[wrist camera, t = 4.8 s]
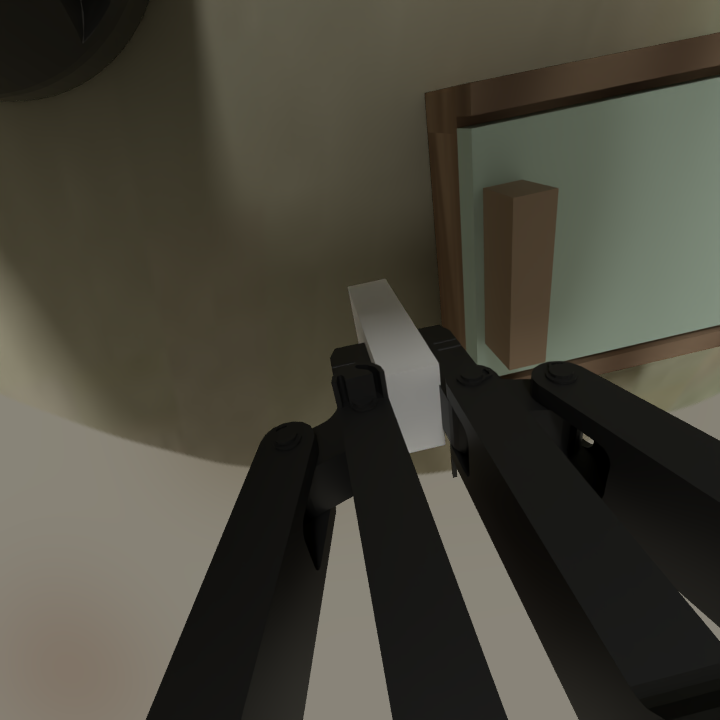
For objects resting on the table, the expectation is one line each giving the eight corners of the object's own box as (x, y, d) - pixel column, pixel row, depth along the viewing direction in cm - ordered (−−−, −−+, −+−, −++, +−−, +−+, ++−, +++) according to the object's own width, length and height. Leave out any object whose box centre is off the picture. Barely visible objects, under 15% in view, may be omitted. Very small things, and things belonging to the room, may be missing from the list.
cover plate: (466, 365, 22) (500, 410, 18) (456, 128, 16) (502, 129, 13) (712, 309, 22) (789, 342, 19) (788, 60, 17) (918, 43, 13)
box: (444, 352, 26) (478, 403, 21) (424, 93, 19) (470, 82, 14) (652, 304, 27) (730, 343, 22) (710, 35, 19) (847, 6, 15)
